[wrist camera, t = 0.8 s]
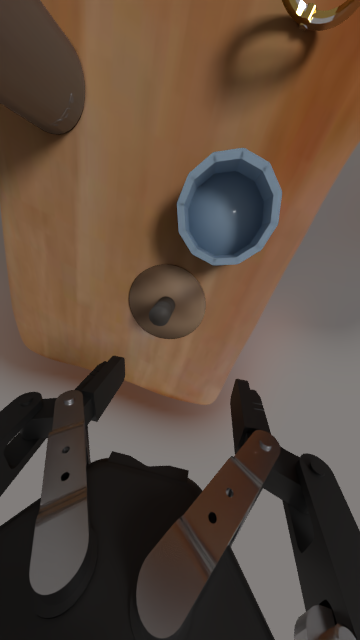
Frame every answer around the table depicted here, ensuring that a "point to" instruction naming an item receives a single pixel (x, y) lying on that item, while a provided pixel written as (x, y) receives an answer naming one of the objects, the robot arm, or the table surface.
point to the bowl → (229, 207)
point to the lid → (167, 301)
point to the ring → (319, 14)
